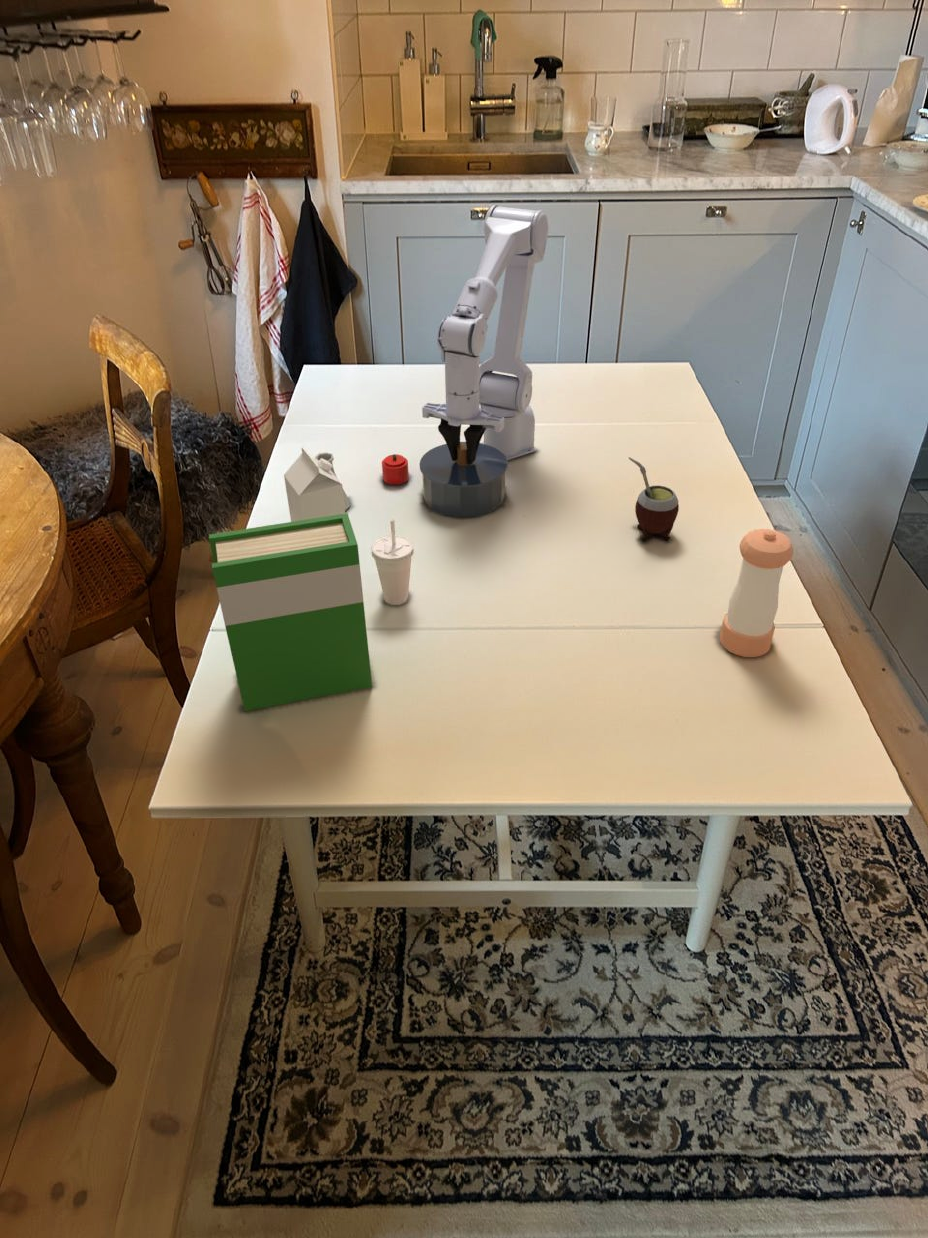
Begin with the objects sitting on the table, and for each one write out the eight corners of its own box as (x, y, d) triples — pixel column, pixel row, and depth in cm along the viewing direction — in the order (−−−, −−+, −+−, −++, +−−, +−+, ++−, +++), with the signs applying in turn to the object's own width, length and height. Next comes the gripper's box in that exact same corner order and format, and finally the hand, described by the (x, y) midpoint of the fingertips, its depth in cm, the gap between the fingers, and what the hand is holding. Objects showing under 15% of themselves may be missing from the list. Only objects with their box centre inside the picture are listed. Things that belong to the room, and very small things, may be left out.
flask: (353, 496, 170) (349, 447, 164) (346, 518, 165) (340, 468, 158) (314, 494, 171) (308, 445, 165) (305, 516, 165) (298, 466, 159)
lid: (456, 438, 175) (456, 417, 172) (525, 463, 167) (525, 442, 165) (401, 472, 166) (400, 451, 163) (471, 500, 158) (471, 478, 155)
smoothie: (423, 591, 148) (419, 516, 139) (404, 614, 143) (399, 538, 135) (387, 581, 150) (381, 506, 141) (368, 604, 145) (360, 528, 137)
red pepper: (400, 469, 178) (399, 445, 174) (413, 480, 174) (412, 456, 171) (378, 476, 176) (376, 452, 172) (390, 488, 172) (388, 463, 169)
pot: (457, 467, 178) (456, 437, 174) (520, 491, 171) (521, 460, 167) (407, 499, 169) (405, 469, 165) (471, 526, 162) (470, 495, 158)
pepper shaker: (761, 663, 134) (789, 553, 122) (712, 646, 137) (734, 536, 125) (777, 635, 138) (805, 526, 126) (729, 619, 141) (752, 511, 129)
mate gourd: (682, 532, 160) (694, 454, 150) (656, 552, 155) (667, 473, 146) (645, 516, 164) (655, 439, 154) (619, 535, 159) (627, 457, 150)
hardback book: (244, 711, 127) (212, 567, 112) (239, 675, 133) (208, 534, 118) (372, 686, 131) (357, 544, 116) (362, 653, 136) (347, 513, 121)
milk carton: (310, 575, 152) (295, 472, 140) (295, 553, 156) (280, 451, 145) (351, 563, 154) (340, 460, 142) (335, 541, 159) (323, 441, 147)
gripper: (413, 390, 156) (416, 462, 165) (493, 405, 152) (492, 478, 160) (431, 373, 161) (433, 444, 170) (509, 387, 157) (508, 459, 165)
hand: (463, 459), depth 165 cm, fingers closed on lid, 2 cm apart
